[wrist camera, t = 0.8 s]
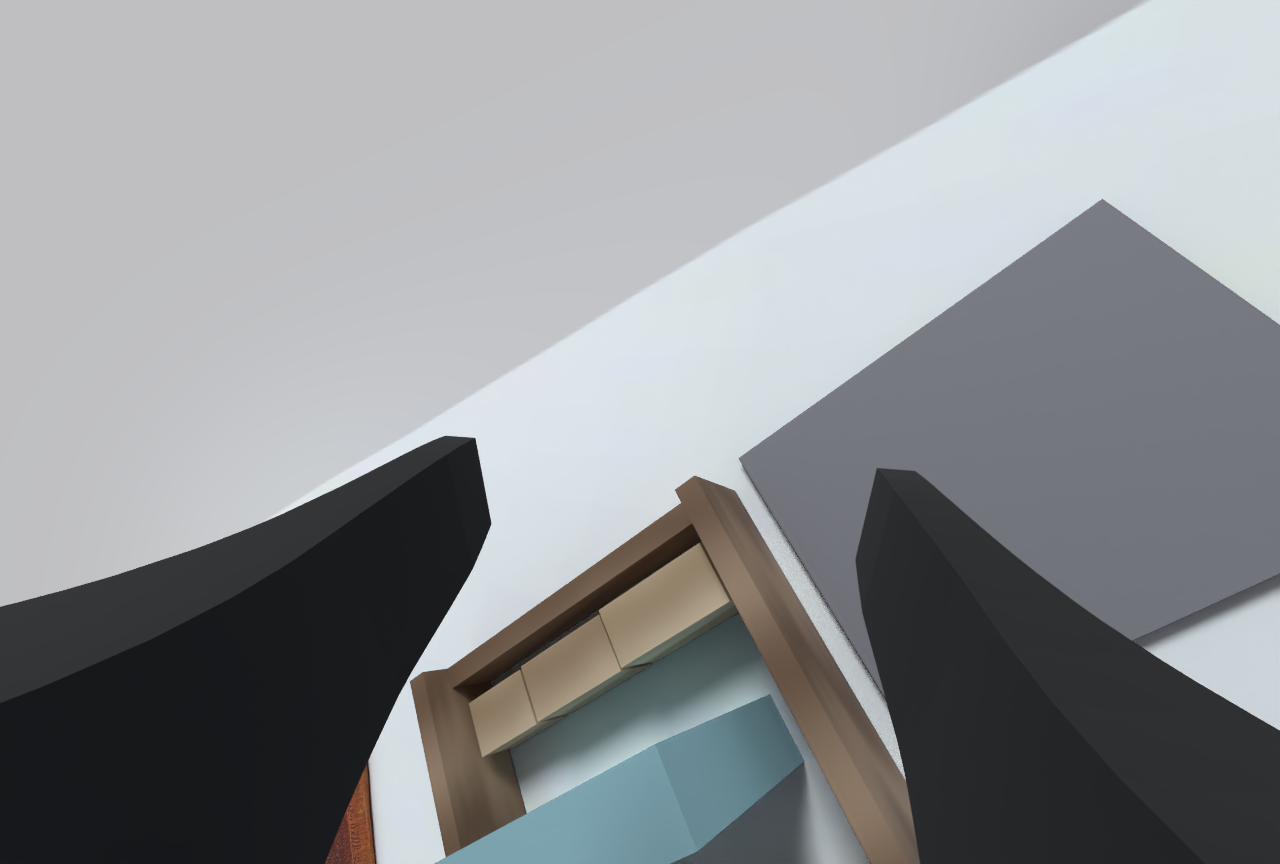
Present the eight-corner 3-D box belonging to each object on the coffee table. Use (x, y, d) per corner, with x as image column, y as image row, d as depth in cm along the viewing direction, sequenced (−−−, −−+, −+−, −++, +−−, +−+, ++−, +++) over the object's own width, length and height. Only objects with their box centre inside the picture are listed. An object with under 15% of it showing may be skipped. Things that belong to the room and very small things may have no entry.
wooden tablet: (286, 655, 42) (262, 657, 40) (366, 606, 38) (342, 606, 37) (298, 1160, 30) (265, 1187, 29) (416, 1162, 26) (384, 1193, 25)
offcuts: (758, 600, 23) (729, 601, 21) (515, 746, 28) (468, 761, 25) (729, 547, 24) (699, 542, 22) (501, 696, 29) (455, 706, 27)
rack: (965, 883, 18) (957, 949, 14) (565, 1024, 23) (494, 1094, 20) (734, 490, 25) (694, 475, 22) (473, 671, 31) (409, 681, 27)
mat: (1481, 479, 14) (1493, 476, 14) (913, 738, 19) (911, 740, 19) (1100, 205, 20) (1102, 198, 20) (741, 460, 25) (738, 458, 25)
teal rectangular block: (804, 760, 21) (697, 851, 14) (578, 868, 25) (399, 984, 17) (770, 693, 22) (655, 744, 15) (559, 806, 26) (385, 890, 19)
